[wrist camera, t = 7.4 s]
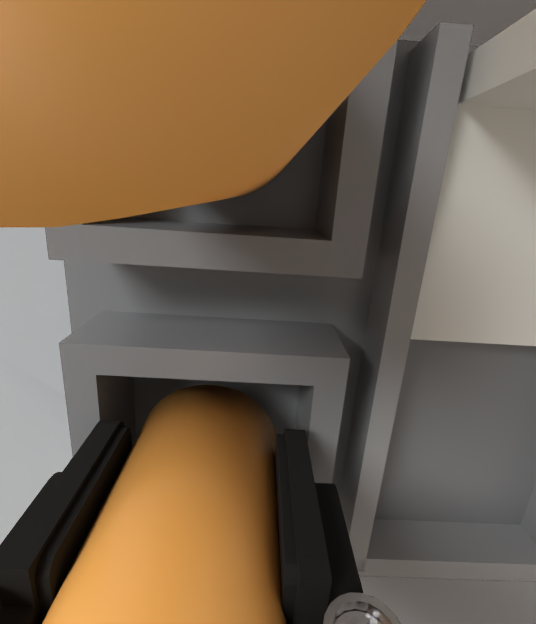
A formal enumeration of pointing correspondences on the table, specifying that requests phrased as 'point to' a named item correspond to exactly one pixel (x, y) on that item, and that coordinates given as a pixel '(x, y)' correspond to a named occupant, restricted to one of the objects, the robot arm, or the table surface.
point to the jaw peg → (185, 522)
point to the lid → (487, 203)
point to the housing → (272, 249)
